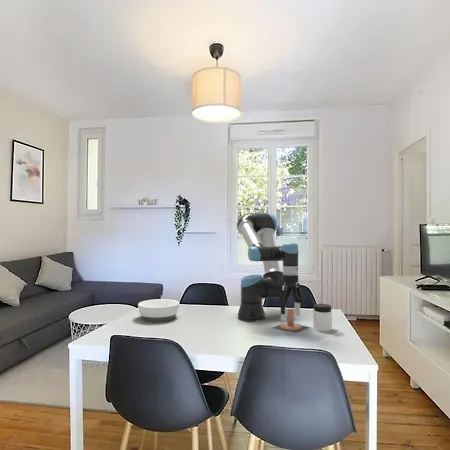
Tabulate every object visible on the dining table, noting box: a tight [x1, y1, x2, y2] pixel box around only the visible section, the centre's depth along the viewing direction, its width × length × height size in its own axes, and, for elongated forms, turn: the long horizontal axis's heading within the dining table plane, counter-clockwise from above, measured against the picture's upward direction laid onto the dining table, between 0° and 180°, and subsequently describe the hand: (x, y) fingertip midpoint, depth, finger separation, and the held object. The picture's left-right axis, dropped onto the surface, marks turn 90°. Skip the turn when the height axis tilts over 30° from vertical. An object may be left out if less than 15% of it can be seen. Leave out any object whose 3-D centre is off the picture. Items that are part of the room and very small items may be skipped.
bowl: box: [137, 298, 180, 323], centre depth 199 cm, size 22×22×8 cm
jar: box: [312, 303, 333, 332], centre depth 175 cm, size 9×8×12 cm
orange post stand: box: [278, 308, 302, 331], centre depth 177 cm, size 11×11×9 cm
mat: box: [271, 321, 311, 334], centre depth 177 cm, size 14×14×1 cm
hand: (290, 318), depth 177 cm, fingers open, 12 cm apart
